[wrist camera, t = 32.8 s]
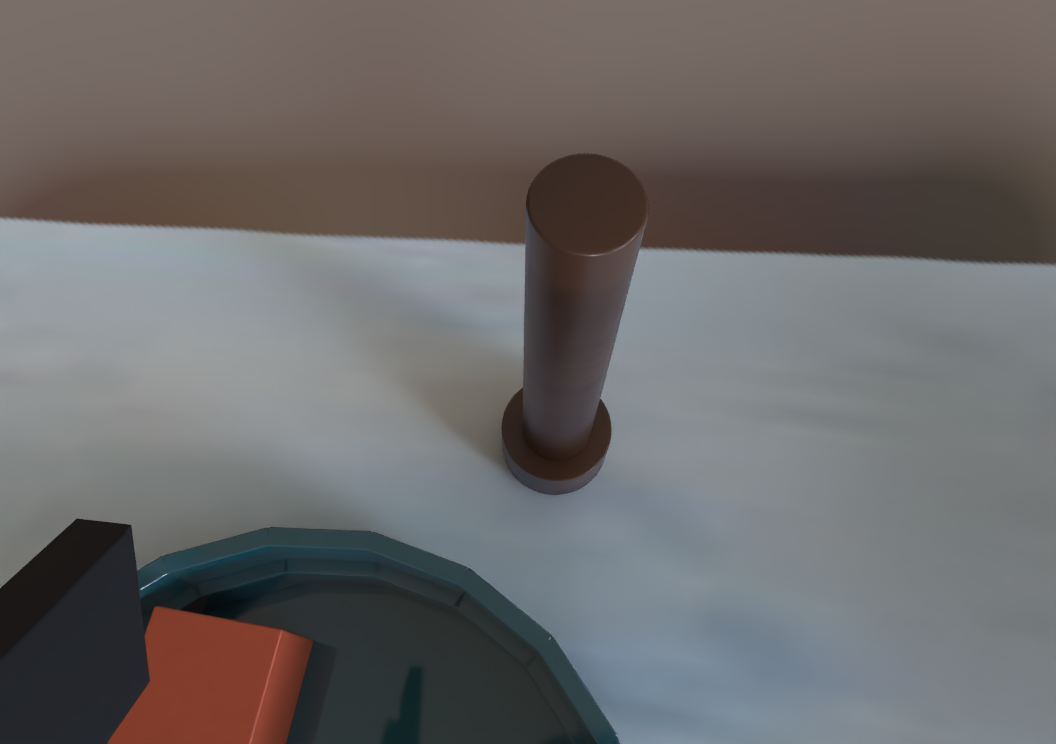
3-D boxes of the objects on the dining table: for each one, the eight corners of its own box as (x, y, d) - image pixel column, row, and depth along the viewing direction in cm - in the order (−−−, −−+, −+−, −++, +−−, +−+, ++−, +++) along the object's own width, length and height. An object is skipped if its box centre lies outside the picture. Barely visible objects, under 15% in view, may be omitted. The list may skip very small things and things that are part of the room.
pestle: (627, 446, 31) (726, 205, 16) (553, 516, 30) (588, 326, 15) (554, 376, 32) (587, 92, 17) (481, 442, 31) (448, 198, 16)
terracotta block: (280, 768, 26) (241, 777, 22) (161, 744, 26) (103, 750, 23) (314, 640, 28) (282, 629, 24) (202, 618, 28) (154, 604, 24)
